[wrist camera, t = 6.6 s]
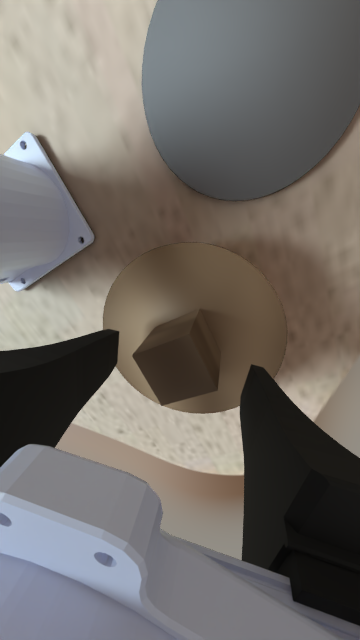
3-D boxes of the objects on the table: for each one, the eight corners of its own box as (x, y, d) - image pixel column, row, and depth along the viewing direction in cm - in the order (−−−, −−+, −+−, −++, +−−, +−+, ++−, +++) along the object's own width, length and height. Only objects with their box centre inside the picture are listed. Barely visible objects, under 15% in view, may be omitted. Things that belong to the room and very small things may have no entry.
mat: (199, 236, 16) (199, 236, 16) (107, 42, 13) (103, 37, 13) (404, 118, 12) (410, 115, 12) (330, -194, 9) (334, -212, 9)
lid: (157, 419, 18) (135, 473, 14) (79, 290, 15) (24, 311, 11) (309, 381, 14) (340, 440, 10) (240, 202, 11) (245, 186, 7)
